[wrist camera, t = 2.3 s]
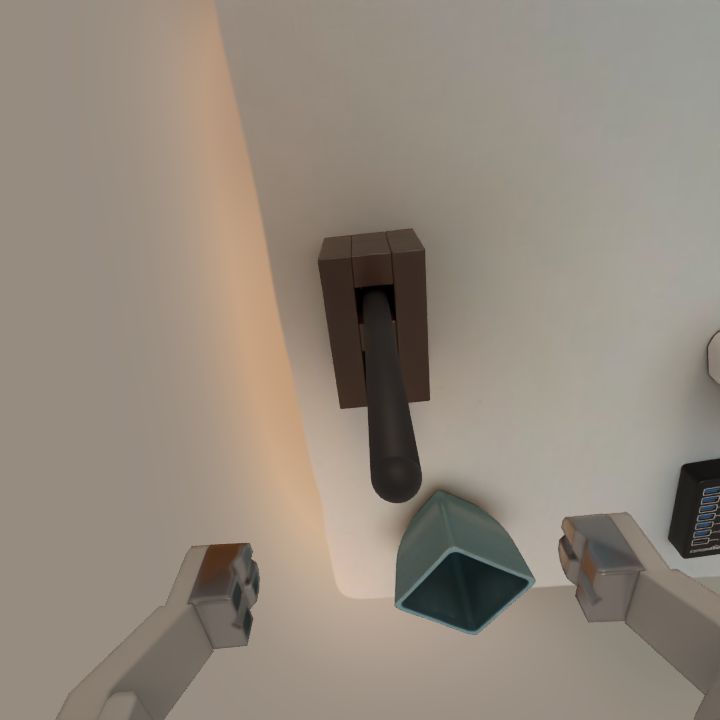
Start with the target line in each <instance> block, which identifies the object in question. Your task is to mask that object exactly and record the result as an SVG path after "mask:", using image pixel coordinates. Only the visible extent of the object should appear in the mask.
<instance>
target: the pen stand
mask: <svg viewBox="0 0 720 720" xmlns="http://www.w3.org/2000/svg"><path fill="white" fill-rule="evenodd" d="M318 265H319V272H320V278H321V285H322V291H323V298H324V305H325V311H326V318H327V324H328V331H329V338H330V344H331V351H332V357H333V364H334V371H335V377H336V384H337V390H338V397H339V403H340V408H341V409H345V408H356V407H367V406H368V404H367V382H366V360H365V339H364V317H363V295H362V293H360V294H358V288H359V287H369V286H379V285H388V284H389V290H390V291H386V293H387V298H388V303H389V309H390V314H391V319H392V324H393V329H394V334H395V339H396V344H397V349H398V354H399V360H400V365H401V370H402V375H403V380H404V385H405V390H406V395H407V400H408V403H409V402H420V401H429V400H430V387H429V356H428V326H427V296H426V266H425V249H424V247H423V245H422V244H421V242H420V240H419V239H418V237H417V235H416V234H415V232H414V230H413V229H405V230H395V231H386V232H377V233H367V234H358V235H352V236H351V235H349V236H340V237H331V238H324V241H323V245H322V248H321V252H320V255H319V258H318Z"/></svg>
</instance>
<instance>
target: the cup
mask: <svg viewBox="0 0 720 720" xmlns="http://www.w3.org/2000/svg"><path fill="white" fill-rule="evenodd" d="M708 365H709V375H710V376H711V377H712V378H713V379H714V380H715V381H716V382H717V383H718V384H720V332H719V333H717V334H716V335H715V336H714V337H713V339H712V340H711V342H710V344H709V346H708Z"/></svg>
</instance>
